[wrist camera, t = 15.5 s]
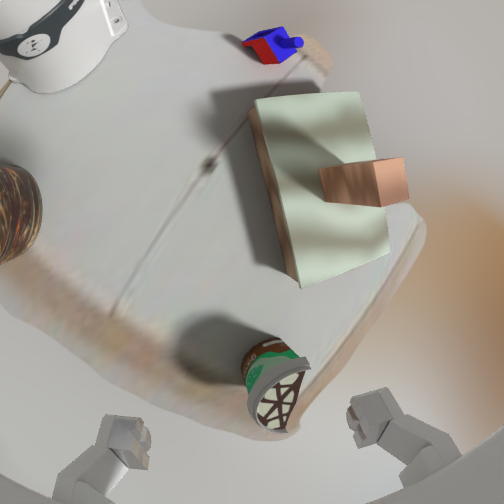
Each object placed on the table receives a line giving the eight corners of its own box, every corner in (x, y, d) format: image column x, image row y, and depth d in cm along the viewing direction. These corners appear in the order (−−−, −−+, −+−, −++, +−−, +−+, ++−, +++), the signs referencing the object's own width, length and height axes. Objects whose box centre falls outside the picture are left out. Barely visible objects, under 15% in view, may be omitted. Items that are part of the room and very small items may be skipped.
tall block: (317, 169, 31) (373, 162, 21) (345, 163, 31) (402, 157, 22) (325, 202, 32) (381, 207, 22) (351, 195, 32) (409, 198, 23)
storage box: (244, 111, 32) (255, 99, 27) (338, 100, 35) (358, 91, 30) (285, 277, 38) (301, 289, 33) (369, 246, 41) (390, 252, 36)
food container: (241, 327, 38) (263, 366, 28) (282, 329, 39) (312, 365, 30) (227, 394, 39) (243, 439, 30) (264, 394, 41) (286, 435, 32)
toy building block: (256, 65, 32) (295, 62, 27) (241, 42, 29) (279, 34, 24) (272, 53, 32) (312, 50, 27) (258, 31, 29) (298, 23, 24)
